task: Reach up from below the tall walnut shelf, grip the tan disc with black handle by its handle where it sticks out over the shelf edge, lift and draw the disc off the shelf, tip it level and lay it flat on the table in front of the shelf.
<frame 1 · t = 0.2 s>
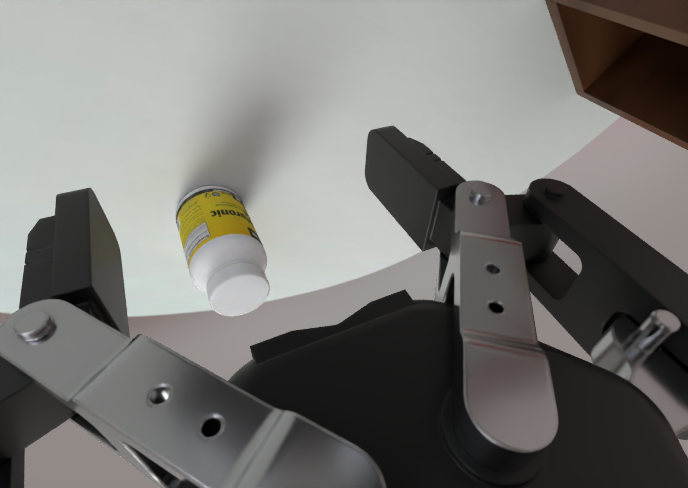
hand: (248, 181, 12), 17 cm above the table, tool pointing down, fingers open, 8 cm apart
supplement bottle: (209, 209, 33), on the table
shelf: (605, 3, 37), on the table
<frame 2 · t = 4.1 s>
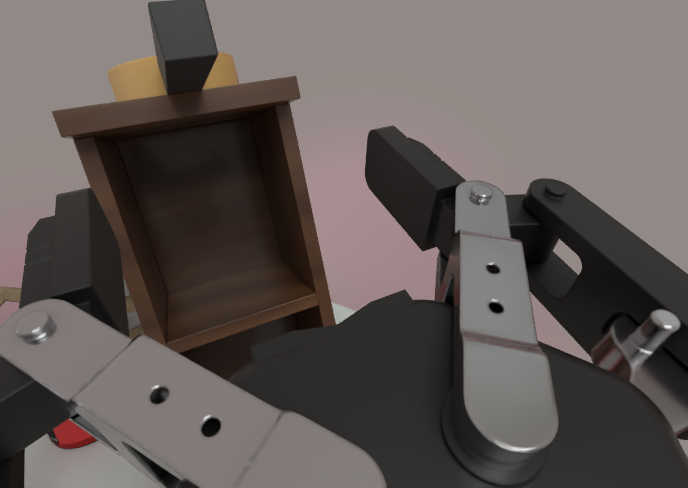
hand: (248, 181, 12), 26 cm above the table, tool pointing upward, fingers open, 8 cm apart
tankard: (104, 356, 62), on the table
canned food: (93, 426, 46), on the table
shelf: (270, 415, 42), on the table
disc with black handle: (183, 102, 31), point 31 cm above the table, touching shelf
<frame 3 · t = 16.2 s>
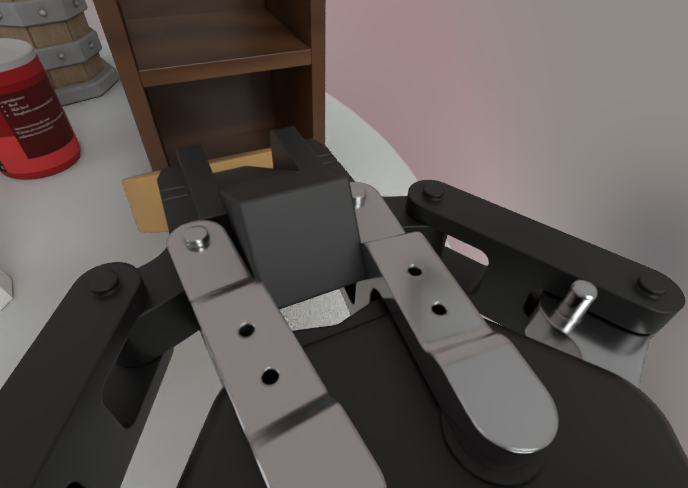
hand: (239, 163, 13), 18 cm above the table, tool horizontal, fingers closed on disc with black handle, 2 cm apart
tankard: (37, 94, 54), on the table
canned food: (42, 161, 43), on the table
shelf: (239, 177, 42), on the table
disc with black handle: (225, 207, 22), point 10 cm above the table, tilted 30°, touching gripper
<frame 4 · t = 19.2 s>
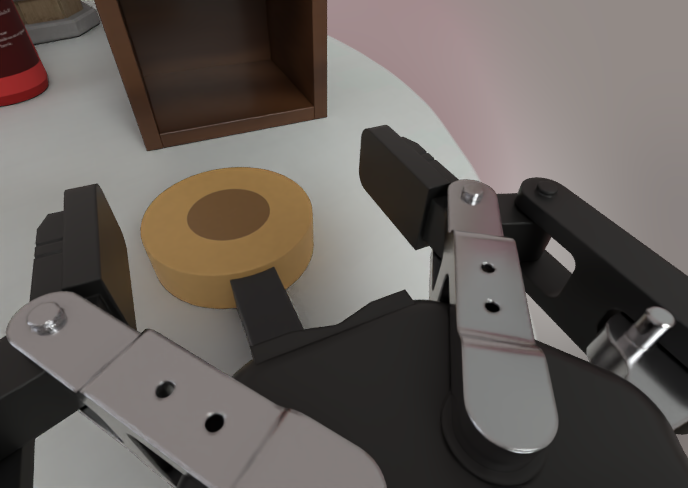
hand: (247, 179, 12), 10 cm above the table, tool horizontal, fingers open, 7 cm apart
tankard: (8, 35, 49), on the table
canned food: (4, 93, 38), on the table
shelf: (229, 107, 36), on the table
disc with black handle: (236, 247, 24), on the table
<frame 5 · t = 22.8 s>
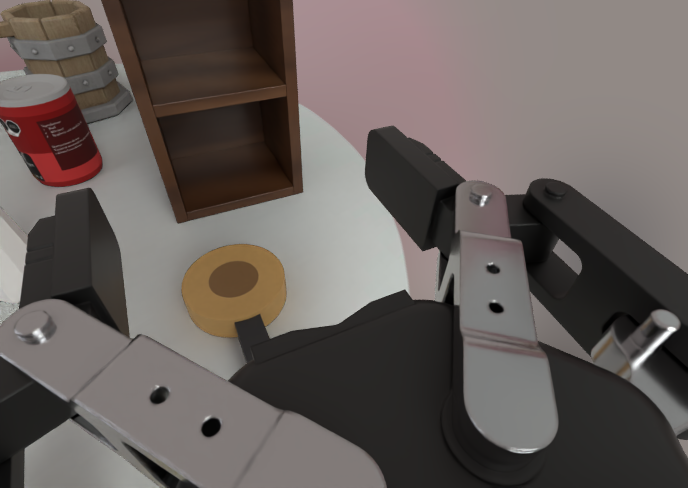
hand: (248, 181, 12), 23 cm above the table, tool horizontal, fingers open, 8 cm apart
salt shaker: (27, 283, 39), on the table
tankard: (63, 113, 64), on the table
canned food: (71, 172, 52), on the table
shelf: (233, 184, 51), on the table
disc with black handle: (238, 296, 38), on the table
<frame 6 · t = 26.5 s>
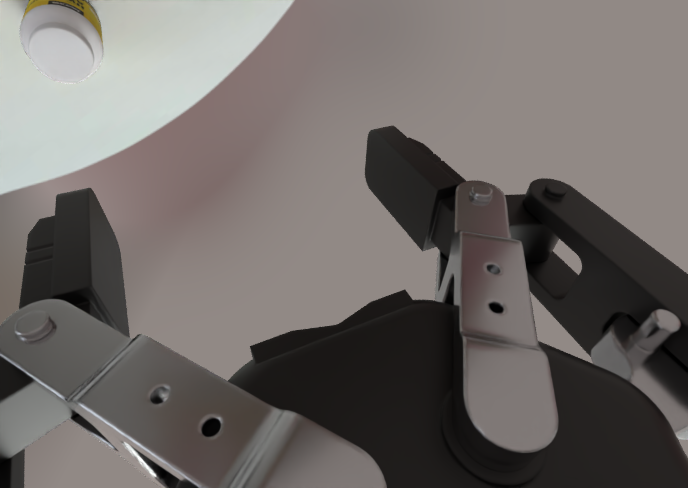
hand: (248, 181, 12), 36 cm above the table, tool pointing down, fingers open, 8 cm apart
supplement bottle: (65, 19, 36), on the table
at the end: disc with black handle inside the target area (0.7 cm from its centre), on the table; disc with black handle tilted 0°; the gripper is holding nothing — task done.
